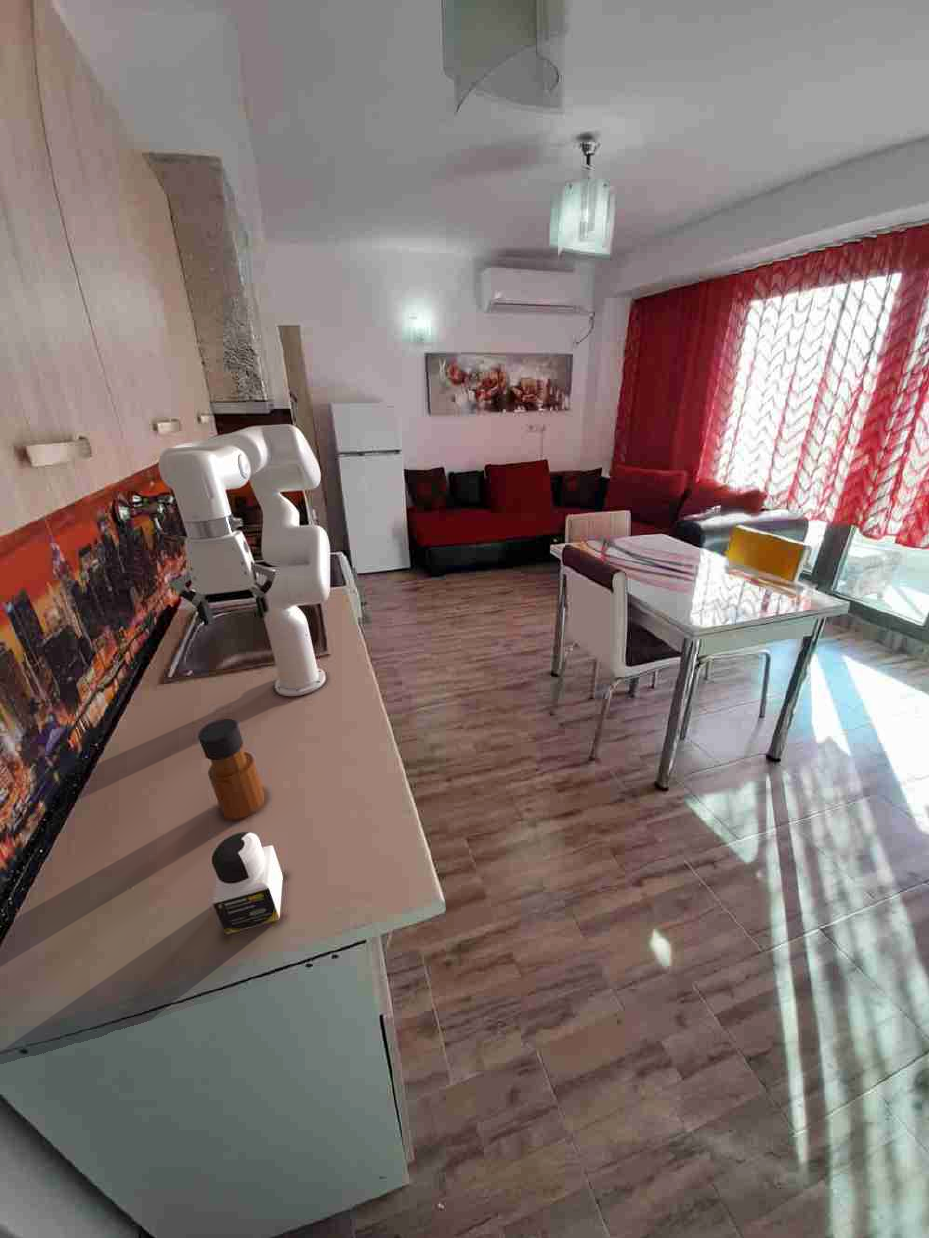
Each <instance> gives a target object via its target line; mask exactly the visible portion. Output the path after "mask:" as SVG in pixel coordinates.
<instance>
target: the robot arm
mask: <svg viewBox="0 0 929 1238" xmlns="http://www.w3.org/2000/svg"><path fill="white" fill-rule="evenodd" d="M158 471H159V475H160V478H161V479H162V481H163V483H164V484H165V485H166V486H167V487H168V488H170V489H171V490H172V492H173V494H174V498H175V501H176V504H177V507H178V510H179V514H180V517H181V520H182V524H183V527H184V530H185V533H186V536H187V537H186V538H185V539H184V551H185V552H184V553H185V557H186V558H185V559H186V564H187V570H188V571H187V572H185V573H184V574H183V575H181V576H179V577H178V578H176V579H175V580H174V581H172V583H171V587H172V588H173V589H174V590H175V591H176V592H177V593H178V594H179V595H180V596H181V598H183V599H184V600H186V601H188V602H190V603H191V605H192V606H194V607H195V609H196V611H197V614H198V618H199V620H201V621H202V622H203V625H204V626H205V627H207V626H210V624H211V622H212V621H213V620H214V616H213V613H212V609H211V605H210V603H209V600H208V599H207V598H205V596H207V595H215V594H216V595H217V594H224V593H233V592H240V591H246V590H247V591H250V592H251V594H252V596H253V598H254V600H255V604H256V607H257V611H258V614H259V618H260V619H263V621H264V624H265V628H266V632H267V636H268V641H269V644H270V647H271V652H272V655H273V660H274V663H275V667H276V670H277V674H278V678H277V679H276V680H275V682H274V689H275V691H276V692H277V694H279V695H281V696H285V697H298V696H303V695H307V694H310V693H312V692H314V691H316V690H317V689H318V690H319V688H321V686H323V685H324V683H325V682H326V679H327V678H326V674H325V671H324V670H323V669H322V668H319V667H318V665H317V661H316V656H315V651H314V650H315V649H314V646H313V642H312V637H311V632H310V628H309V623H308V620H307V616H306V615H305V613H304V612H303V611H302V610H301V608H299V607H298V606H308V605H309V606H311V605H319V604H323V603H325V602H326V601H328V599H329V596H330V593H331V545H330V540H329V536H328V534H327V532H326V530H325V529H324V528H323V527H321V526H320V525H317V524H304V525H303V524H302V525H300V512H299V511H298V509H297V508H296V506H295V505H294V503H292V502H291V501H290V500H289V499H288V498H286V497H285V496H284V495H282V494H281V493H283V492H298V491H310V490H315V489H316V488H318V487H319V485H320V483H321V478H322V474H321V469H320V465H319V462H318V461H317V458H316V456H315V454H314V452H313V450H312V448H311V446H310V444H309V442H308V441H307V439H306V437H305V436H304V434H303V433H302V432H301V430H300V429H299V428H297V426H295V425H293V424H289V423H283V424H281V423H280V424H269V425H266V424H265V425H253V426H248V427H245V428H242V429H239V430H236V431H233V432H230V433H225V434H219V435H214V436H211V437H208V438H204V439H203V438H201V439H197V440H192V441H188V442H183V443H179V444H175V445H172V446H170V447H167V448H166V449H164V450H163V451H162V453H160V456H159V459H158ZM248 482H249V484H250V487H251V489H252V492H253V494H254V496H255V498H256V500H257V502H258V504H259V506H260V509H261V511H262V530H261V545H260V546H261V556H262V559H263V561H264V562H265V563H266V564H267V565H269V566H270V567H268V566H265V565H262V564H258V563H255V560H254V558H253V554H252V552H251V548H250V546H249V544H248V542H247V539H246V537H245V535H244V533H243V531H242V530H237V528H239V527H243V526H244V521H243V518H242V517H236V516H234V513H232V509H231V506H230V503H229V498H228V495H227V492H226V491H228V490H237V489H240V488H242V487H244V486H245V485H246V484H247V483H248ZM190 581H191V584H192V587H193V590H194V591H193V590H192V589H190V588H188V587H187V586H186V584H187V583H188V582H190Z"/></svg>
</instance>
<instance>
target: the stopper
mask: <svg viewBox="0 0 929 1238" xmlns="http://www.w3.org/2000/svg"><path fill="white" fill-rule="evenodd" d="M197 737H198V740H199V743H200V745H201V748H202V751H203V753H204V757H205V758H206V759H208V760H210V761H211V760H222V759H225V758H228V757H230V756H232V755H234V754H235V753H237V752H238V751H239V750H240V749H241V747H242V748H243V745H244V740H243V737H242V734H241V731H240V728H239V724H238V722H237V721H236V720H234V719H233V718H221V719H217V720H214V721H213V722H210V723H207V725H205V726H204V727H202V728H201V729H200V730H199V732H198V735H197Z"/></svg>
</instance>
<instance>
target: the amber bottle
mask: <svg viewBox="0 0 929 1238" xmlns="http://www.w3.org/2000/svg"><path fill="white" fill-rule="evenodd" d="M210 763H211V765H210V767H209V769H208V771H207V775H208V778H209V780H210V784H211V786H212V789H213V792H214V794H215V797H216V800H217V802H218V805H219V807H220V811H221V813H222V814H223V816H224V817H225V818H226V819H229V820H241V819H244V818H247V817H249V816H251V815H253V814H254V813H256V812H257V811H258V810H259V809H260V808H261V807H262V805H263V804H264V802H265V797H266V795H265V792H264V789H263V786H262V783H261V779H260V776H259V773H258V770H257V767H256V764H255V761H254V758H253V755H252V754H250V753H249V752H246V751H244V748H243V746H242V747H241V749H240V750H239V751H238V752H237V753H235V754H234V755H232V756H230V757H228V758H225V759H222V760H210Z"/></svg>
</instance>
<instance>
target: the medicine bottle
mask: <svg viewBox="0 0 929 1238" xmlns="http://www.w3.org/2000/svg"><path fill="white" fill-rule="evenodd" d="M277 857H278V856H277V854H276V850H275V848H274V846H273V845H271V844H270V845H267V846H263V847H262V843H261V841H260V838H259V837H258V835H257V834H255V833H253V832H250V831H241V832H237V833H234V834H231V835H229V836H228V837H226V838H225V839H224V840H222V841H221V842H220V843H219V844H218V845H217V847H216V848H215V850H214V851H213V853H212V856H211V864H212V866H213V867H212V868H213V869H214V871H215V874H216V876H217V878H216V882H215V886H214V891H213V895H212V900H211V902H212V905H213V907H214V910H215V912H216V914H217V917H218V919H219V921H220V923H221V926H222V928H223V930H224V933H225V934H226V935H229V934H234V933H237V932H241V931H243V930H247V929H251V928H253V927H254V928H255V927H258V926H261V925H265V924H268V923H271V922H275V921H278V920H279V919H280V916H281V905H282V894H283V893H282V892H283V891H282V890H283V882H284V881H283V879H284V875H283V873H282V870H281V869H282V868H281V865H280V863H279V860H278V858H277Z"/></svg>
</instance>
